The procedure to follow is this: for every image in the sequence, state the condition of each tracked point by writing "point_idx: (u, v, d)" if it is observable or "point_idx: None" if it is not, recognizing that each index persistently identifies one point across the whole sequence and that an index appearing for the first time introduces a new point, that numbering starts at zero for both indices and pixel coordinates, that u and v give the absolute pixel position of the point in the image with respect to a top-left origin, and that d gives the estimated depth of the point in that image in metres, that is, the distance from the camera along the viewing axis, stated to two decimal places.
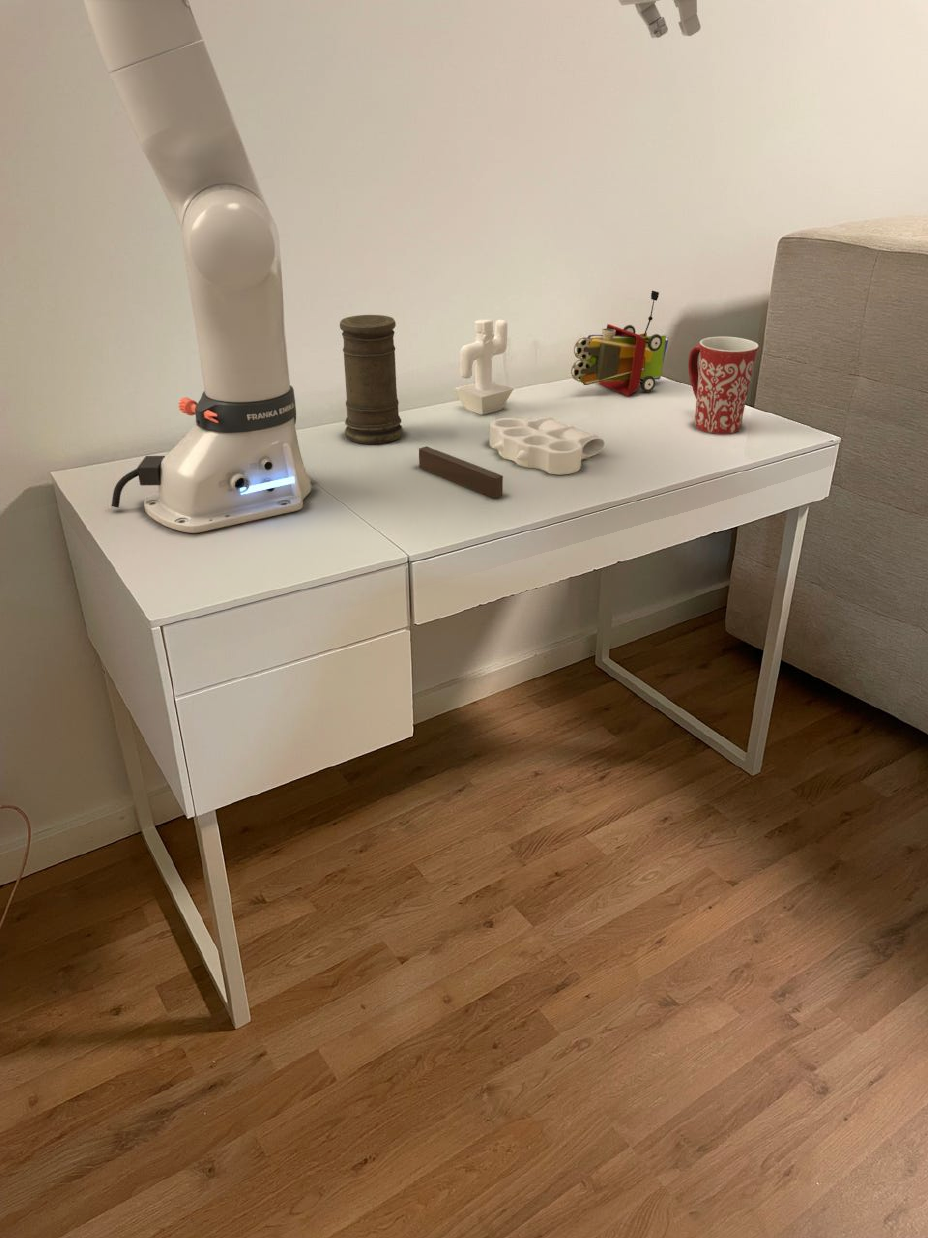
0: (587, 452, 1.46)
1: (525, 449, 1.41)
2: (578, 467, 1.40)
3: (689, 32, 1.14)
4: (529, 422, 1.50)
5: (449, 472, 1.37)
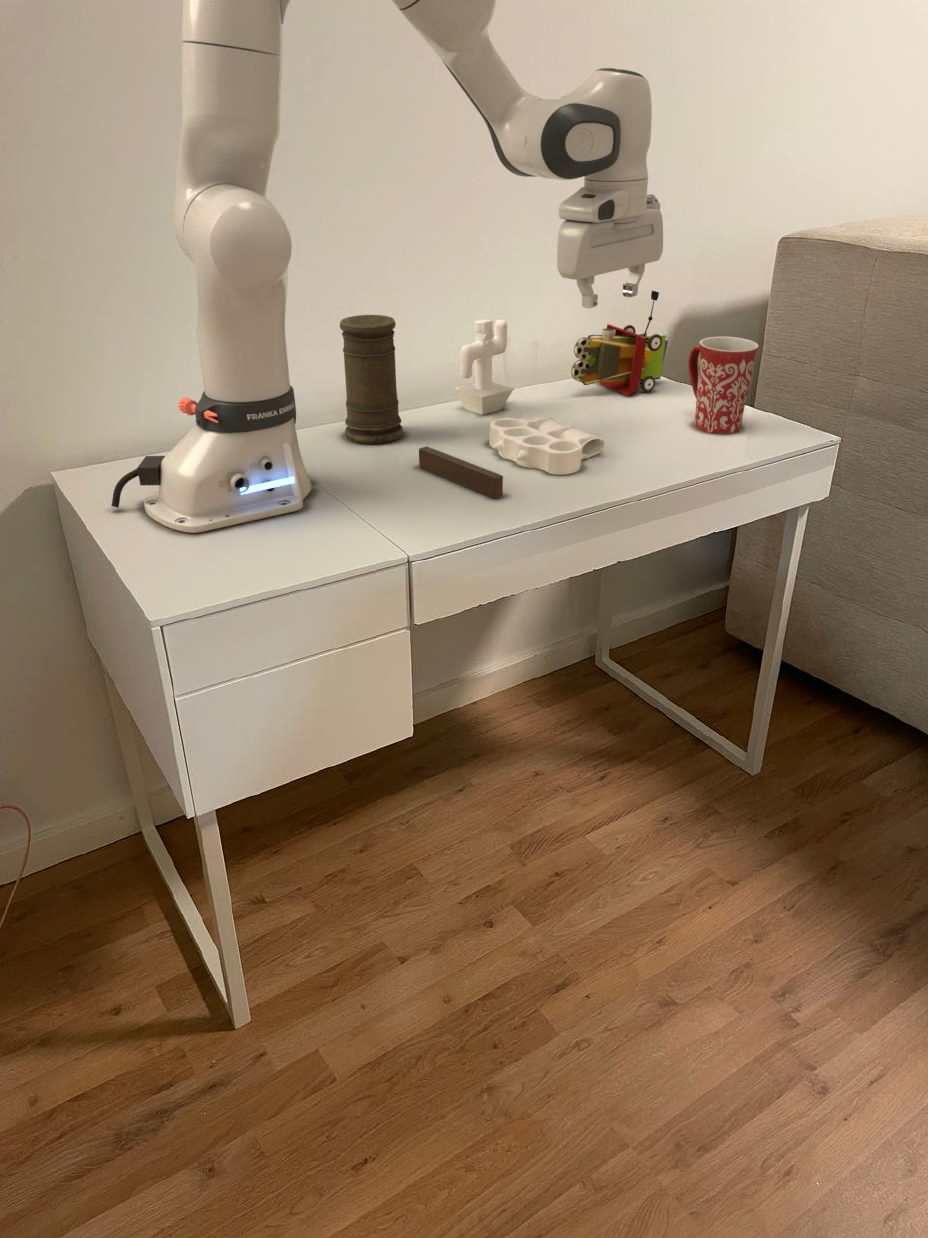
0: (587, 452, 1.46)
1: (525, 449, 1.41)
2: (578, 467, 1.40)
3: (582, 304, 1.41)
4: (529, 422, 1.50)
5: (449, 472, 1.37)
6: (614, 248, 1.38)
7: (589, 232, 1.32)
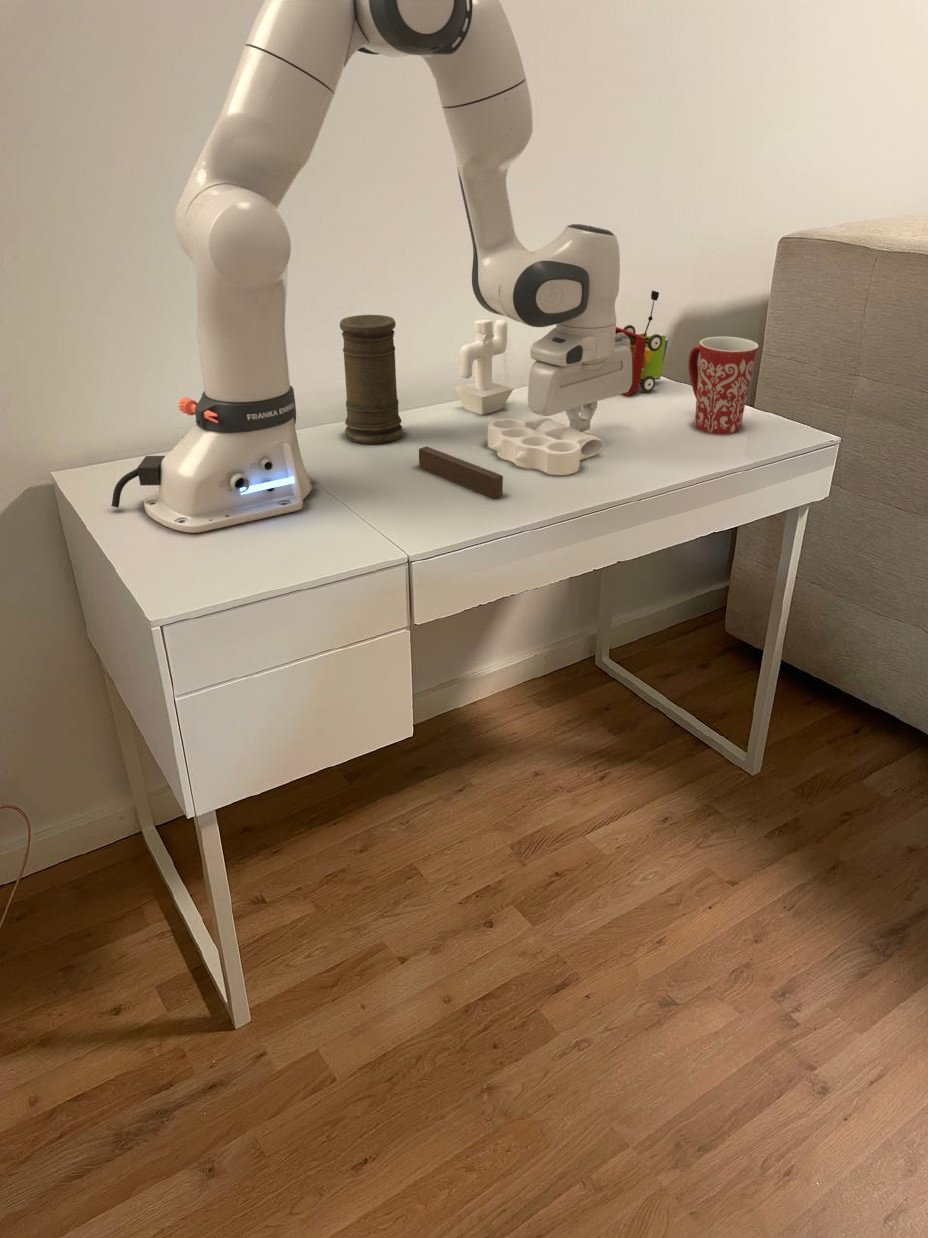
0: (586, 453, 1.46)
1: (524, 450, 1.40)
2: (577, 468, 1.40)
3: None
4: (527, 423, 1.50)
5: (449, 472, 1.37)
6: (583, 386, 1.45)
7: (558, 375, 1.39)
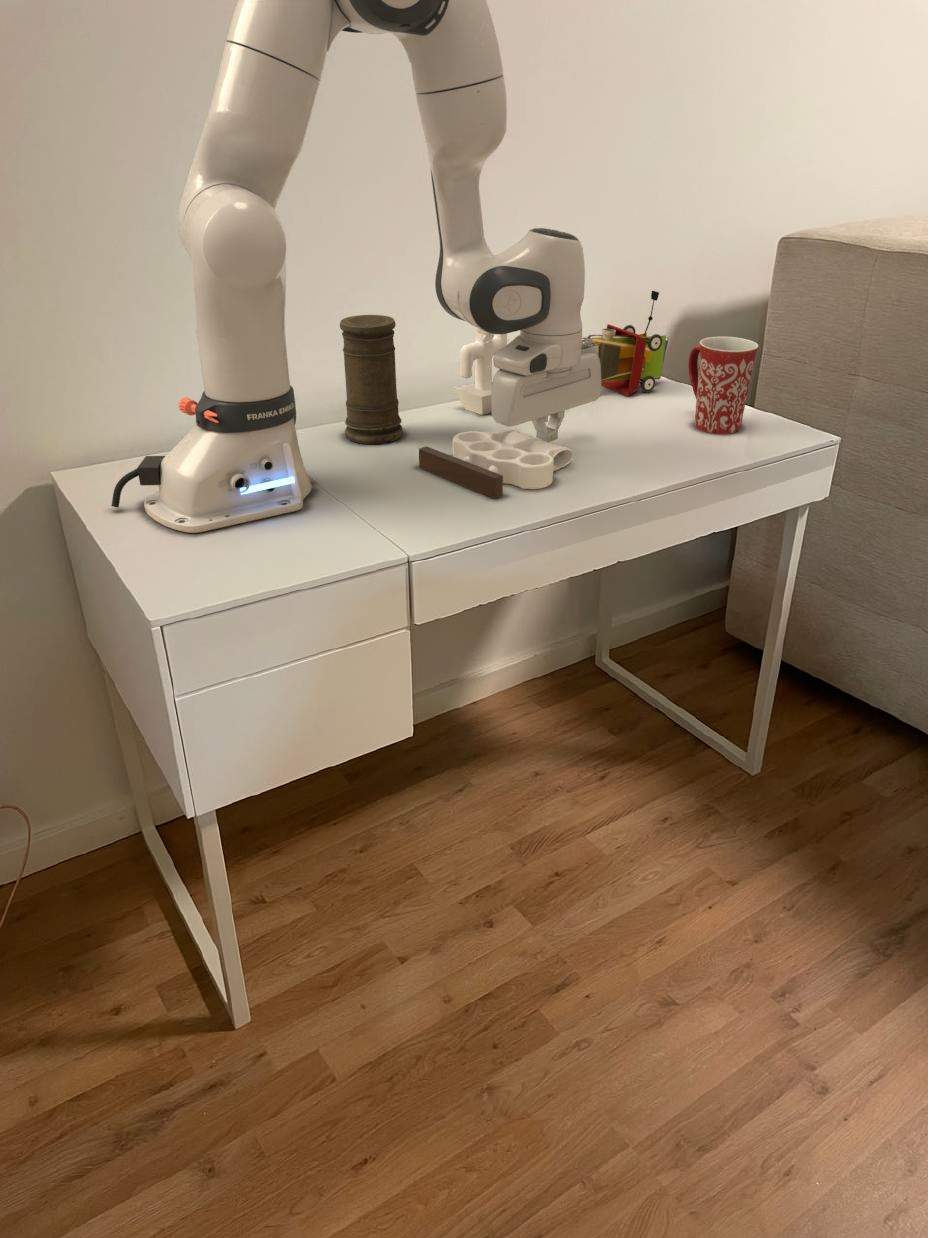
0: (556, 464, 1.42)
1: (495, 464, 1.35)
2: (551, 481, 1.36)
3: None
4: (493, 435, 1.45)
5: (449, 472, 1.37)
6: (549, 395, 1.41)
7: (521, 384, 1.35)
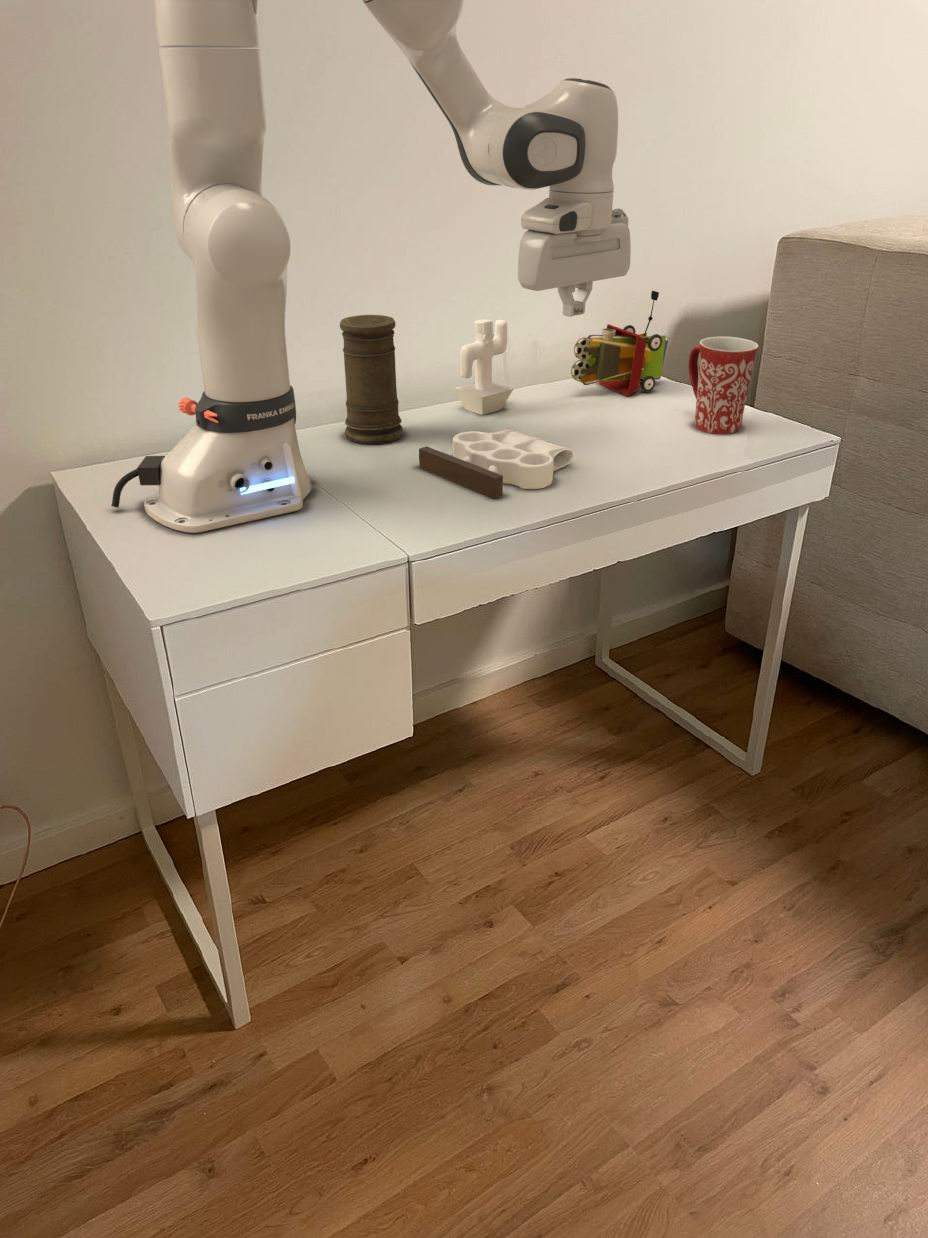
0: (556, 464, 1.42)
1: (495, 464, 1.35)
2: (551, 481, 1.36)
3: (563, 312, 1.41)
4: (493, 435, 1.45)
5: (449, 472, 1.37)
6: (577, 261, 1.35)
7: (550, 243, 1.30)
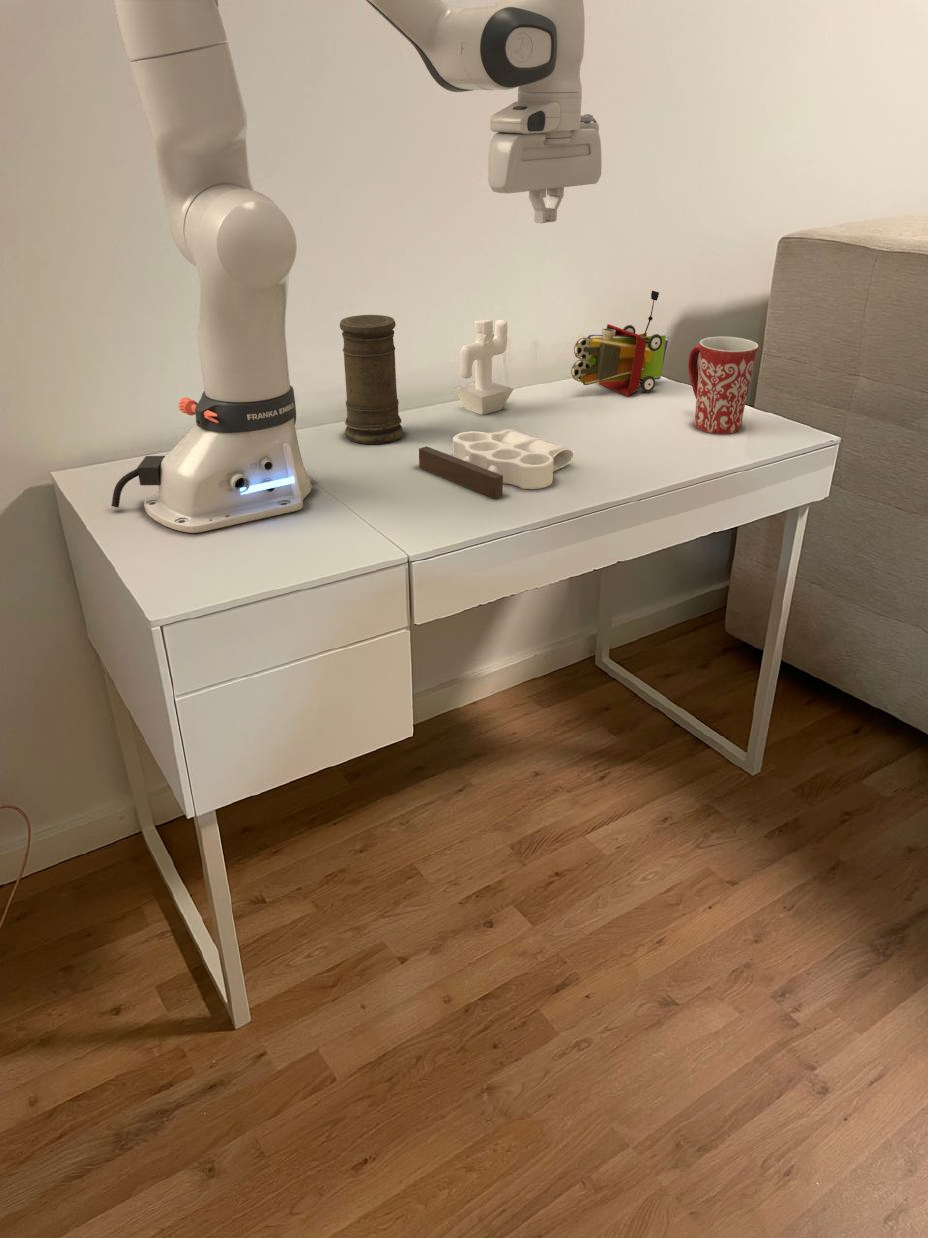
0: (556, 464, 1.42)
1: (495, 464, 1.35)
2: (551, 481, 1.36)
3: (535, 219, 1.42)
4: (493, 435, 1.45)
5: (449, 472, 1.37)
6: (547, 164, 1.36)
7: (518, 143, 1.30)
